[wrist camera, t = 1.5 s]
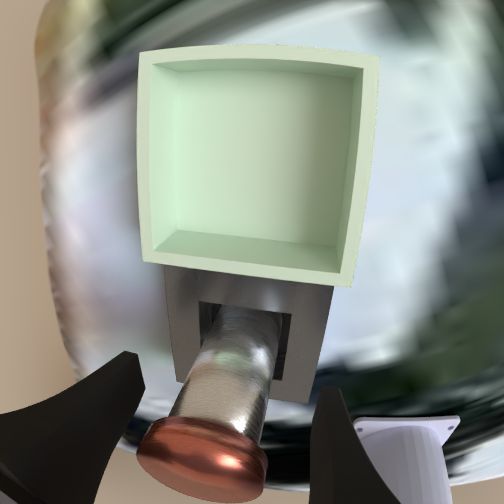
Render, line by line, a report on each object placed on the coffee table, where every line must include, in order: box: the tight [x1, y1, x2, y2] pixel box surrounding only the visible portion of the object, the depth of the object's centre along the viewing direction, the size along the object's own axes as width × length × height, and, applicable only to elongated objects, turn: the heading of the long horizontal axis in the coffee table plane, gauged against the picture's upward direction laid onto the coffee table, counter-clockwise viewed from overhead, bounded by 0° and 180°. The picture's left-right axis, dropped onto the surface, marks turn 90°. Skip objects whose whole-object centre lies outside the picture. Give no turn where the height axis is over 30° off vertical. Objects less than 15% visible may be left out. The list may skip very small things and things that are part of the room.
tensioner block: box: [164, 264, 334, 404], centre depth 15 cm, size 7×7×2 cm
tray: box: [137, 44, 379, 288], centre depth 11 cm, size 8×8×3 cm
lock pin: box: [136, 304, 282, 503], centre depth 12 cm, size 4×4×9 cm
